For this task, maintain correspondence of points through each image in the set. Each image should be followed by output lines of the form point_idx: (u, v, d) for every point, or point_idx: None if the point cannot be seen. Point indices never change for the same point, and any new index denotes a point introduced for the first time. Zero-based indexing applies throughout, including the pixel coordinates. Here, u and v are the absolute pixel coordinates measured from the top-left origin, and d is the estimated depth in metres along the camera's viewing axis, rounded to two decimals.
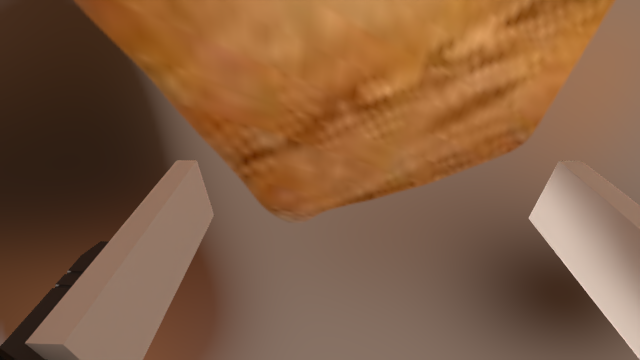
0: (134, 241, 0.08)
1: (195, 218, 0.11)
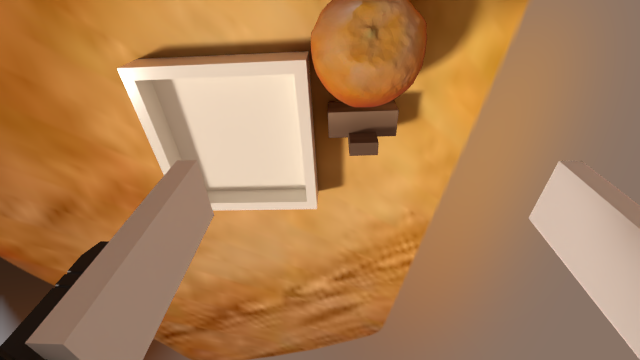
0: (134, 241, 0.08)
1: (195, 218, 0.11)
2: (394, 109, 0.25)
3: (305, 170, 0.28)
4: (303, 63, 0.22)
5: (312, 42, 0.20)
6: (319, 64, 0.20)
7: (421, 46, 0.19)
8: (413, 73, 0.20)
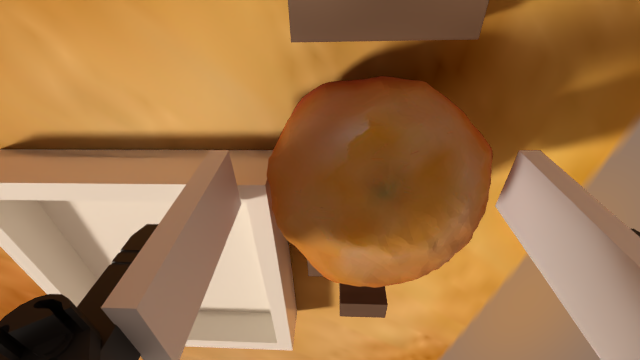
0: (183, 222, 0.08)
1: (227, 205, 0.11)
2: None
3: (273, 313, 0.18)
4: (261, 189, 0.13)
5: (269, 180, 0.10)
6: (280, 225, 0.10)
7: (483, 201, 0.10)
8: (464, 245, 0.10)
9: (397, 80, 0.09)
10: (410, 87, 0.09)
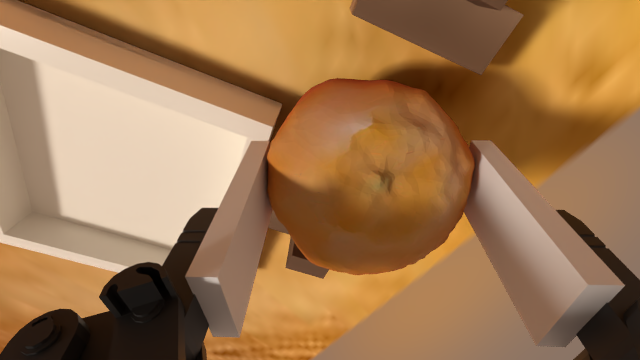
0: (241, 204, 0.09)
1: None
2: None
3: None
4: (267, 129, 0.14)
5: (269, 162, 0.11)
6: (275, 205, 0.10)
7: (462, 206, 0.11)
8: (439, 245, 0.11)
9: (401, 85, 0.10)
10: (412, 93, 0.10)
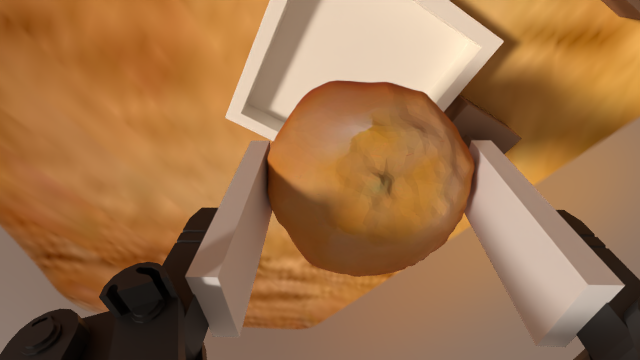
0: (241, 204, 0.09)
1: None
2: (516, 135, 0.25)
3: None
4: (499, 42, 0.20)
5: (269, 163, 0.11)
6: (275, 207, 0.11)
7: (462, 208, 0.11)
8: (439, 246, 0.11)
9: (401, 87, 0.10)
10: (412, 95, 0.10)
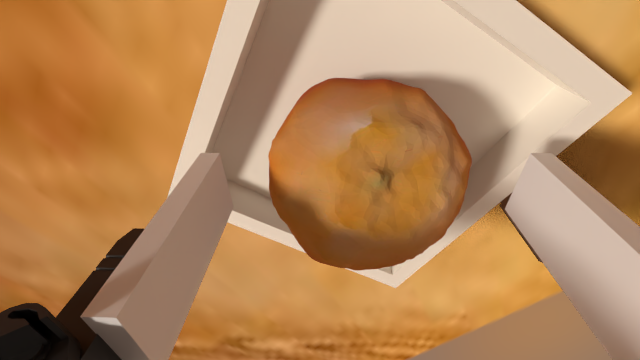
0: (169, 227, 0.08)
1: (218, 208, 0.11)
2: None
3: None
4: (623, 95, 0.11)
5: (270, 160, 0.11)
6: (276, 204, 0.11)
7: (459, 202, 0.11)
8: (438, 240, 0.11)
9: (399, 84, 0.10)
10: (410, 92, 0.10)
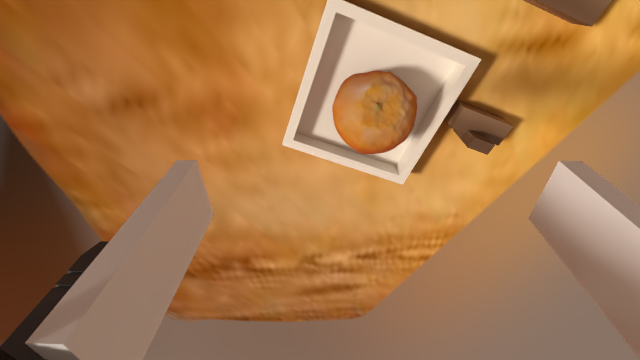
0: (134, 241, 0.08)
1: (195, 218, 0.11)
2: (509, 124, 0.31)
3: (417, 147, 0.32)
4: (478, 60, 0.27)
5: (334, 109, 0.27)
6: (339, 125, 0.27)
7: (413, 114, 0.27)
8: (407, 132, 0.27)
9: (381, 71, 0.27)
10: (385, 73, 0.26)
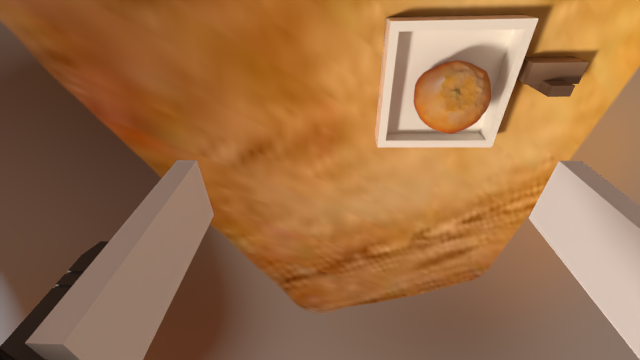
0: (134, 241, 0.08)
1: (195, 218, 0.11)
2: (584, 61, 0.33)
3: (497, 111, 0.36)
4: (536, 20, 0.30)
5: (418, 106, 0.33)
6: (426, 117, 0.33)
7: (488, 87, 0.31)
8: (487, 104, 0.32)
9: (449, 62, 0.32)
10: (453, 63, 0.31)
